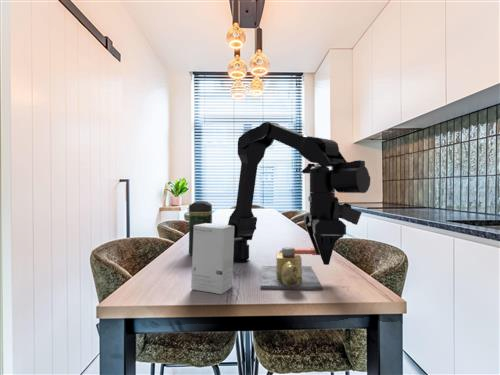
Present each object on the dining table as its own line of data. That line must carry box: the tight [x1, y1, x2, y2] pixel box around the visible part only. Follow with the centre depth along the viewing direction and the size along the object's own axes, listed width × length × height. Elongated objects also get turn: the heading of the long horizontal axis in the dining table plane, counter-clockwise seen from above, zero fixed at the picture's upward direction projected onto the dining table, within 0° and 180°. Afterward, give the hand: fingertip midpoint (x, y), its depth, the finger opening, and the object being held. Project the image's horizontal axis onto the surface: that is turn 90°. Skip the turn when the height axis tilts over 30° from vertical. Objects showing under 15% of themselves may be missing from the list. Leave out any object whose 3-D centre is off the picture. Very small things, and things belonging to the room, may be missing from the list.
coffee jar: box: [188, 200, 213, 256], centre depth 100 cm, size 10×8×19 cm
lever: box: [281, 246, 318, 256], centre depth 72 cm, size 12×3×2 cm, turn 86°
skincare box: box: [190, 222, 234, 295], centre depth 66 cm, size 8×6×15 cm
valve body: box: [260, 249, 323, 291], centre depth 73 cm, size 18×14×6 cm
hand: (322, 259), depth 66 cm, fingers open, 9 cm apart
